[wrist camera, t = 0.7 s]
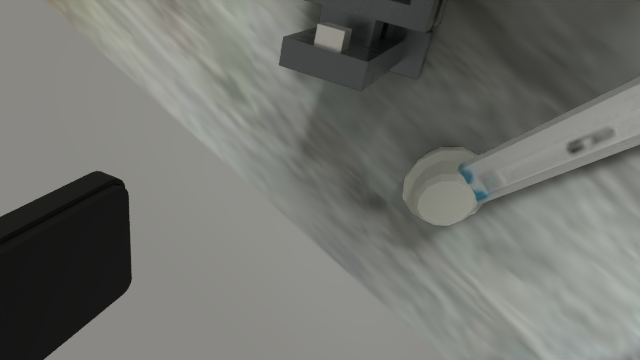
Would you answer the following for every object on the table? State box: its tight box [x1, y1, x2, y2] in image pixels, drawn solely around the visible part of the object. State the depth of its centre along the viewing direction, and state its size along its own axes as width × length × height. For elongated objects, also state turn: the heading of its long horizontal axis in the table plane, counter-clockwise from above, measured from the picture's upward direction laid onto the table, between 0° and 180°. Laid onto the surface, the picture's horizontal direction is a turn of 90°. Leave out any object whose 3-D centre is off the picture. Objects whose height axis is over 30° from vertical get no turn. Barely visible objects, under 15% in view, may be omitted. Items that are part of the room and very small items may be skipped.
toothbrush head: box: [402, 76, 640, 226], centre depth 29 cm, size 5×7×25 cm
